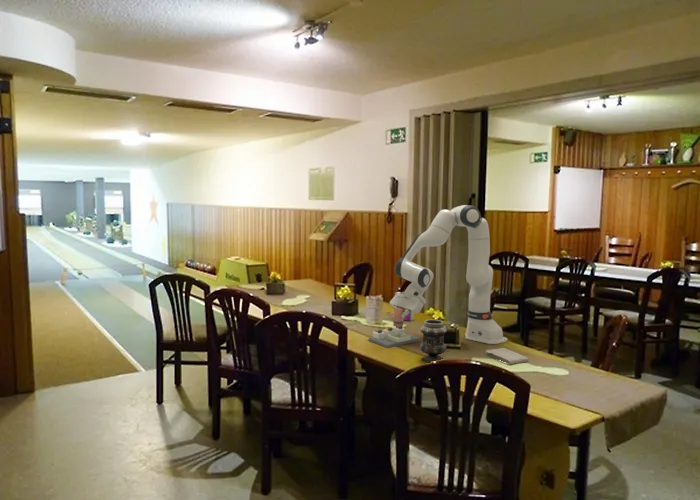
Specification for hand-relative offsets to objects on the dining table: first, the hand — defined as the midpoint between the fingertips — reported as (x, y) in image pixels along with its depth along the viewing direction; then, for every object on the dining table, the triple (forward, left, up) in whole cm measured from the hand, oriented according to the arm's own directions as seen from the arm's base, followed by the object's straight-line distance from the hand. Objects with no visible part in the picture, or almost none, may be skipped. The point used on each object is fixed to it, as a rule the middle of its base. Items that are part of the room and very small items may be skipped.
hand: (397, 315), depth 258 cm
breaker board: (+3, -1, -14) cm, 14 cm away
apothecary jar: (-31, +4, -14) cm, 34 cm away
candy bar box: (+35, -35, -14) cm, 52 cm away
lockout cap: (0, -1, -5) cm, 5 cm away
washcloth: (-49, -25, -15) cm, 56 cm away
